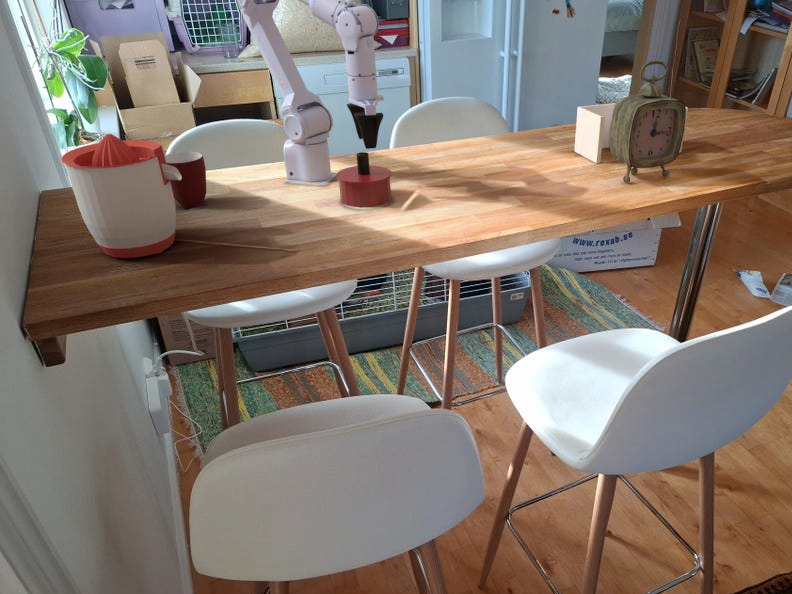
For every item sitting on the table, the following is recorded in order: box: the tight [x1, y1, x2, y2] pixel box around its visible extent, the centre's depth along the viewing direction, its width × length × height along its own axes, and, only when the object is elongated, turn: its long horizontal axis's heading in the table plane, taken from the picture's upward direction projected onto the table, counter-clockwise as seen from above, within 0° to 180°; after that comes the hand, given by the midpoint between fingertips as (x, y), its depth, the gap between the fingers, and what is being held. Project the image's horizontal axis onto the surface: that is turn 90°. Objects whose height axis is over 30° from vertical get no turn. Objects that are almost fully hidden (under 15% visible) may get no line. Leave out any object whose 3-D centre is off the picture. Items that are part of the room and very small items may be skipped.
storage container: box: [573, 102, 689, 164], centre depth 174 cm, size 25×11×11 cm, turn 113°
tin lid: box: [335, 151, 392, 185], centre depth 141 cm, size 11×11×5 cm
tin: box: [338, 177, 392, 208], centre depth 143 cm, size 10×10×5 cm
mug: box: [164, 151, 207, 210], centre depth 139 cm, size 11×8×10 cm
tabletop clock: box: [609, 60, 686, 184], centre depth 153 cm, size 14×9×25 cm, turn 114°
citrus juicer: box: [61, 133, 182, 259], centre depth 119 cm, size 16×17×20 cm
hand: (367, 143), depth 144 cm, fingers open, 7 cm apart
